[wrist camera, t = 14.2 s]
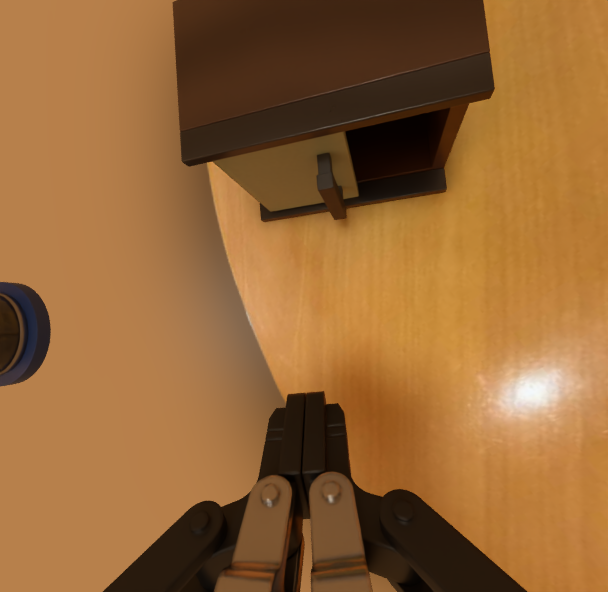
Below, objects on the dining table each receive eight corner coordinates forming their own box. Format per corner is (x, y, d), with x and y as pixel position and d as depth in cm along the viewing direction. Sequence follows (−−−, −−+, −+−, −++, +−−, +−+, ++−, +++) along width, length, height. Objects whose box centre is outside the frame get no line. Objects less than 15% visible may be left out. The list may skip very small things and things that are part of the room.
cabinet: (445, 192, 26) (495, 89, 14) (263, 222, 30) (181, 161, 18) (432, 79, 27) (469, -111, 15) (256, 123, 31) (172, 1, 19)
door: (361, 223, 27) (346, 169, 17) (272, 236, 29) (210, 196, 19) (358, 187, 27) (341, 113, 17) (269, 203, 29) (207, 145, 19)
